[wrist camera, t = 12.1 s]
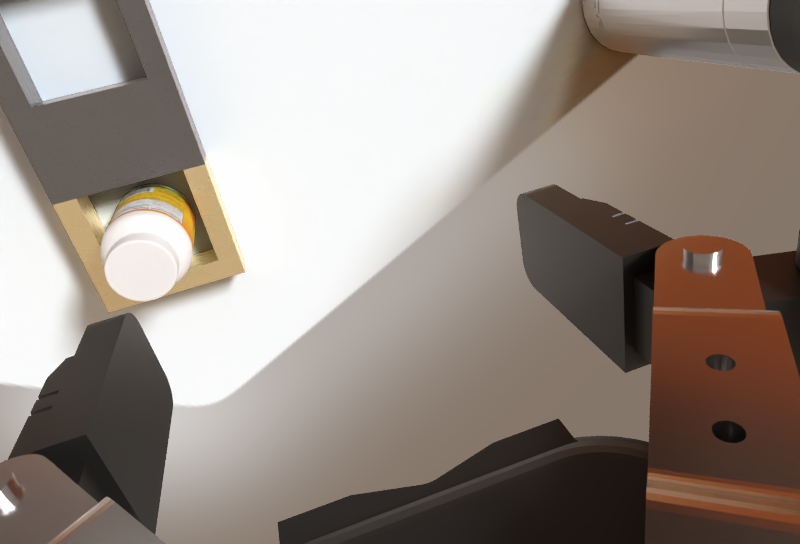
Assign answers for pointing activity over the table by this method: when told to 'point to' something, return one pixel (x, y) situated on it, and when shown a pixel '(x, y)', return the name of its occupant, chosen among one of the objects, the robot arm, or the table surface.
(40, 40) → the table surface
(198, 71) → the table surface
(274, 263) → the table surface
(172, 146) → the rail
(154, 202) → the supplement bottle
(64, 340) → the table surface
